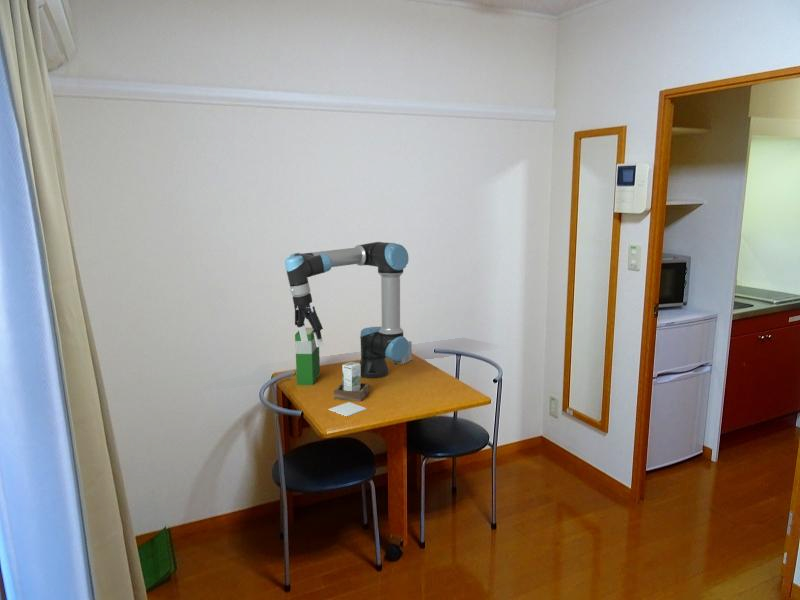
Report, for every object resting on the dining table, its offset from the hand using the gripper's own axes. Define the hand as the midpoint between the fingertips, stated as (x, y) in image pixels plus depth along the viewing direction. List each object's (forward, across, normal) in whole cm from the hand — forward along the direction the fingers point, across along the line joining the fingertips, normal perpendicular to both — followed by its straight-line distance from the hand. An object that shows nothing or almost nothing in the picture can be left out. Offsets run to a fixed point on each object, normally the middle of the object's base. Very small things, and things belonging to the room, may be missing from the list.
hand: (312, 343), depth 236 cm
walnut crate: (+28, 0, +13) cm, 31 cm away
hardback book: (+26, -33, +9) cm, 43 cm away
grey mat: (+28, +13, +3) cm, 31 cm away
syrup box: (+29, 0, +13) cm, 32 cm away
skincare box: (+35, -29, +60) cm, 75 cm away
